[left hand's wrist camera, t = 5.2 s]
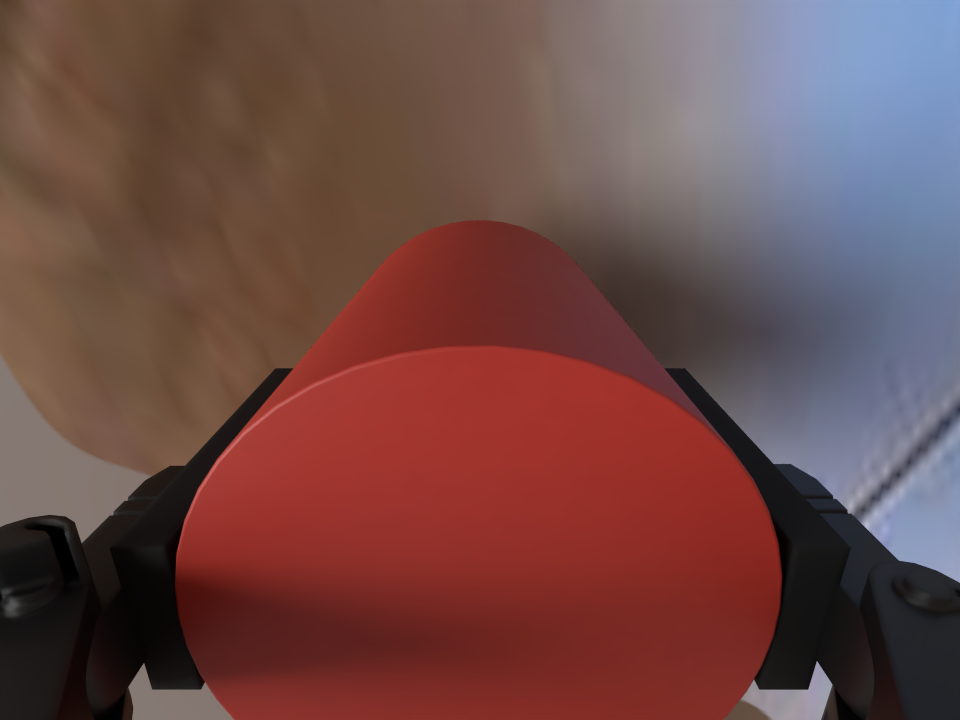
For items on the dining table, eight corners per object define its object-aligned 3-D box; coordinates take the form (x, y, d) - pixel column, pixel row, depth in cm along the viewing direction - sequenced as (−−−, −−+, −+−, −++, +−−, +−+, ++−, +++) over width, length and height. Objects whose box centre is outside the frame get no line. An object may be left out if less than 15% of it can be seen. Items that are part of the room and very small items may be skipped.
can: (304, 296, 18) (36, 522, 7) (539, 170, 17) (652, 212, 6) (431, 490, 21) (377, 868, 10) (642, 397, 20) (851, 717, 9)
